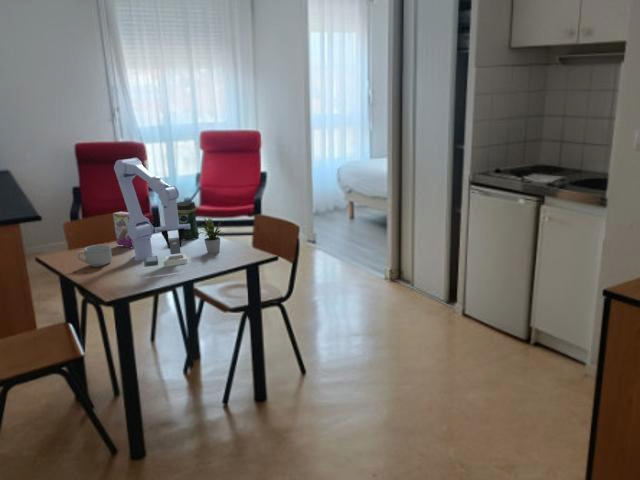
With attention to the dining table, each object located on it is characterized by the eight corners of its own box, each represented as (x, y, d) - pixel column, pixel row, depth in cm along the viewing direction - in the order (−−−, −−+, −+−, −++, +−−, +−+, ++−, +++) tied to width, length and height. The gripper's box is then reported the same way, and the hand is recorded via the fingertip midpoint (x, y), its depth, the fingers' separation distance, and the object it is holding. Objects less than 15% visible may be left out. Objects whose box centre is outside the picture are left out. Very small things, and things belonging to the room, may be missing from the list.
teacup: (112, 260, 264) (110, 242, 262) (113, 266, 254) (111, 248, 252) (79, 265, 259) (76, 247, 257) (78, 271, 249) (76, 253, 247)
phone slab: (145, 260, 258) (145, 257, 257) (157, 259, 259) (157, 255, 259) (146, 266, 249) (145, 262, 249) (158, 264, 251) (157, 260, 250)
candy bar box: (116, 246, 289) (111, 213, 285) (124, 244, 293) (120, 211, 289) (132, 248, 283) (127, 214, 279) (140, 246, 287) (136, 212, 283)
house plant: (189, 252, 270) (185, 217, 266) (215, 246, 278) (212, 212, 275) (206, 258, 259) (202, 221, 255) (232, 251, 268) (229, 215, 264)
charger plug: (170, 252, 254) (168, 238, 252) (179, 251, 255) (178, 237, 253) (170, 254, 250) (169, 240, 248) (180, 253, 251) (179, 239, 249)
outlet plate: (142, 262, 257) (141, 257, 256) (189, 256, 262) (188, 251, 262) (142, 270, 245) (141, 264, 244) (192, 264, 250) (191, 258, 250)
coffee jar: (201, 236, 300) (197, 200, 296) (194, 240, 293) (190, 203, 288) (183, 236, 303) (179, 200, 298) (176, 240, 295) (172, 203, 291)
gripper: (153, 219, 243) (157, 251, 246) (189, 215, 247) (193, 247, 250) (152, 216, 249) (156, 247, 252) (188, 212, 253) (191, 243, 256)
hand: (174, 247), depth 252 cm, fingers closed on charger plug, 4 cm apart
